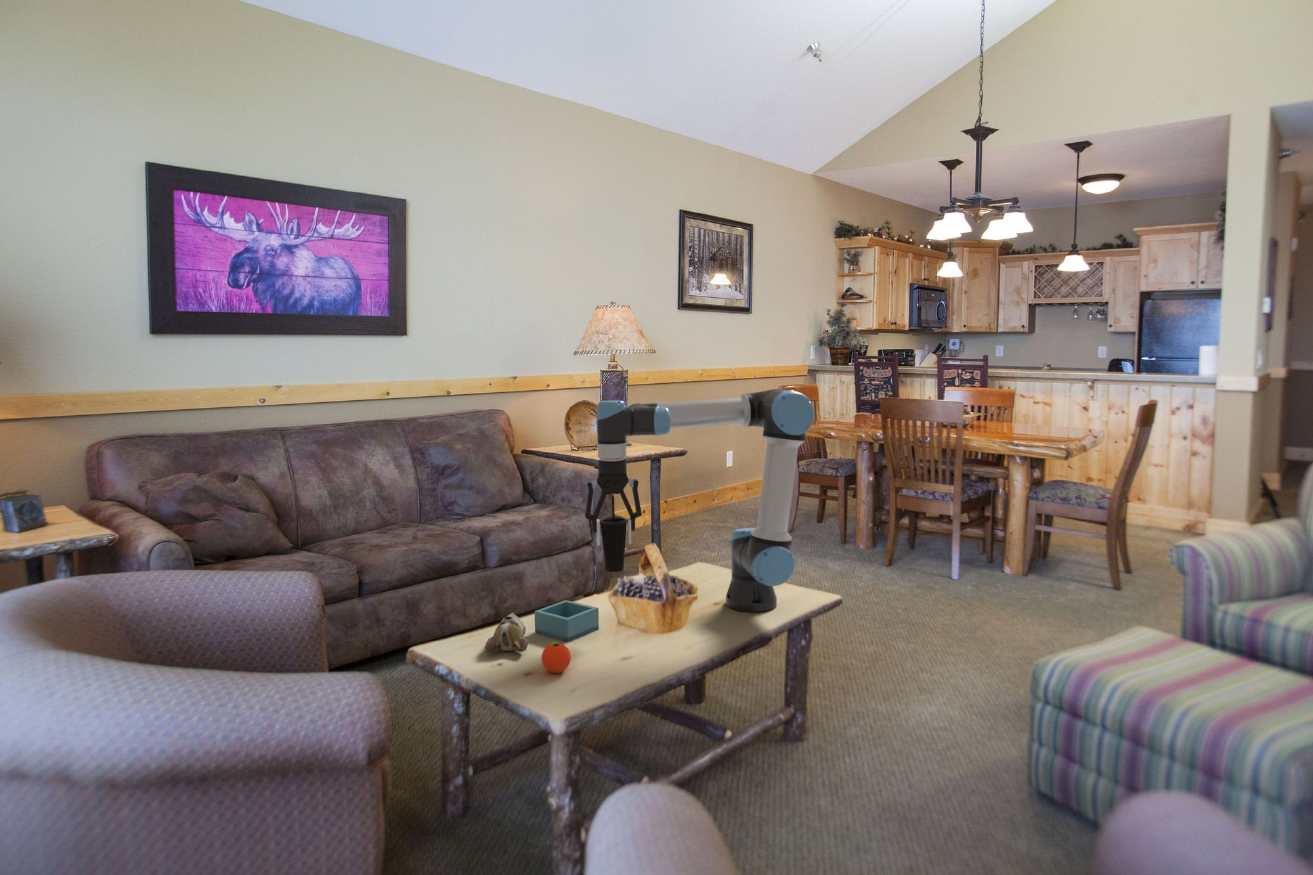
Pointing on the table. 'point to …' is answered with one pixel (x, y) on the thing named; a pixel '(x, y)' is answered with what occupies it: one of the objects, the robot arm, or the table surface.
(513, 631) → the ceramic sculpture
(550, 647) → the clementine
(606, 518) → the drinking cup
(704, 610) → the table surface
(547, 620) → the teal bin
